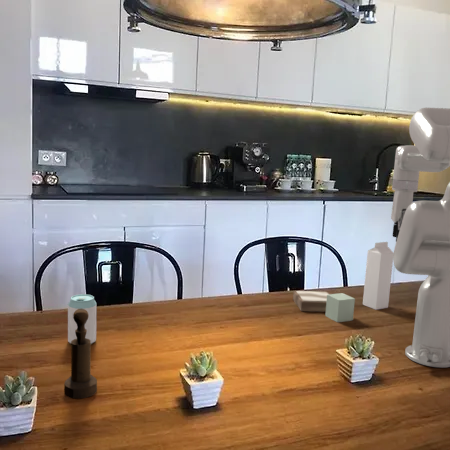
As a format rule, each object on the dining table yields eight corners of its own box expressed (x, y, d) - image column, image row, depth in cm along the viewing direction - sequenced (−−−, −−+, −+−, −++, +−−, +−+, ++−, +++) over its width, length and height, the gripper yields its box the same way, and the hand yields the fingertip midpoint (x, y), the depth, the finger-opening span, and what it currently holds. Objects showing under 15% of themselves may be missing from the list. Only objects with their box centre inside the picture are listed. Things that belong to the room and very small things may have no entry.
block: (352, 320, 164) (354, 298, 163) (337, 322, 162) (339, 300, 161) (340, 314, 170) (342, 293, 169) (325, 316, 167) (327, 294, 166)
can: (99, 344, 136) (100, 299, 134) (72, 349, 133) (72, 303, 130) (91, 335, 142) (91, 292, 140) (64, 339, 138) (64, 295, 136)
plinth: (337, 311, 172) (338, 302, 171) (301, 311, 170) (301, 301, 170) (327, 300, 183) (327, 291, 183) (292, 299, 182) (293, 290, 182)
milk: (362, 304, 181) (367, 241, 177) (374, 302, 184) (380, 239, 180) (376, 310, 175) (382, 244, 172) (388, 307, 179) (394, 243, 175)
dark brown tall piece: (84, 381, 116) (85, 302, 113) (103, 391, 112) (104, 309, 109) (58, 391, 111) (57, 309, 108) (76, 402, 107) (76, 317, 104)
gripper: (389, 183, 175) (384, 234, 177) (395, 187, 158) (389, 244, 161) (413, 184, 173) (408, 236, 176) (422, 189, 156) (415, 246, 159)
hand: (399, 239), depth 168 cm, fingers open, 9 cm apart
